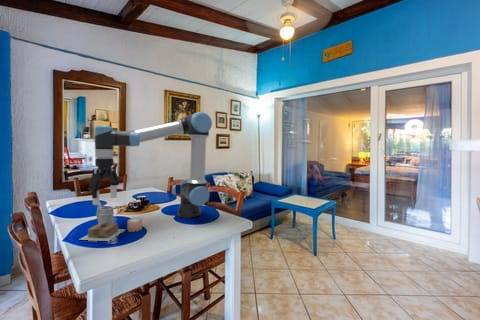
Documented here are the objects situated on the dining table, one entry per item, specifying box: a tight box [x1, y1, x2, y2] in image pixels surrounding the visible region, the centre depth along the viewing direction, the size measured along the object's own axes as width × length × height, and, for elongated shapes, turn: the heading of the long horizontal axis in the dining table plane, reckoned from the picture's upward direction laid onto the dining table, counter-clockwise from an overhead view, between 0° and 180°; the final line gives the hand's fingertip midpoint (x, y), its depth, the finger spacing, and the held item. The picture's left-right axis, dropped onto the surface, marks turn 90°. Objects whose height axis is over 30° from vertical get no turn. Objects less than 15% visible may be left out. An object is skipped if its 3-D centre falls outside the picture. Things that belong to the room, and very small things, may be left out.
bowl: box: [126, 217, 143, 233], centre depth 117 cm, size 7×7×5 cm
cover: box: [87, 222, 119, 238], centre depth 109 cm, size 9×9×5 cm
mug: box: [95, 201, 116, 224], centre depth 123 cm, size 8×12×12 cm, turn 66°
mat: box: [78, 228, 126, 243], centre depth 109 cm, size 14×14×1 cm
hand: (105, 201), depth 109 cm, fingers open, 13 cm apart
